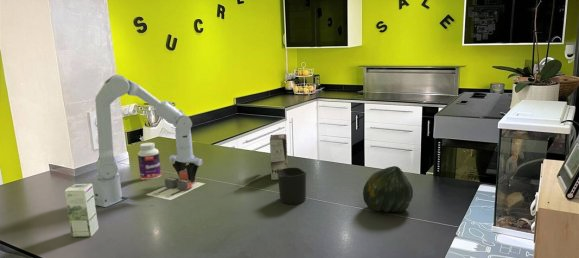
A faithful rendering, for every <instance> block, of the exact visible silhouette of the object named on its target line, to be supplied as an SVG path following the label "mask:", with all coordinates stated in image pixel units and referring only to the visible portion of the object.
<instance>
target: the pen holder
mask: <svg viewBox="0 0 579 258" xmlns="http://www.w3.org/2000/svg"><path fill="white" fill-rule="evenodd" d="M277 180H278V189H279V190H278V191H279V198H280V199H279V200H280V201H281V202H282V203H283V204H286V205H298V204H302V203H304V202H305V201H306V197H307V172H305V171H304V170H302V169H301V168H299V167H288V168H284V169H281V170H279V171H278V179H277Z"/></svg>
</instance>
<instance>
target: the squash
mask: <svg viewBox="0 0 579 258" xmlns="http://www.w3.org/2000/svg"><path fill="white" fill-rule="evenodd" d="M413 192H414V189H413V185H412V183H411V182H410V181H409V179H408V177H407V176H406V174H405V173H404V172H403V170H402V169H401V168H400V167H399V166H398V165H397V166H396V165H395V166H389V167H385V168H383V169H380V170H378V171H376V172H374V173H372V174H371V175H370V177H368V179H367V181H366V182H365V184H364V186H363V192H362V196H363V201H364V204H365V205H366V206H367V207H368V208H370V209H372V210H374V211H375V212H382V211H383V212H386V213H388V212H391V213H394V212H397V213H401V212H405V211H406V210H407V209H408V208H409V206H410V203H411V202H412V199H413V194H414V193H413Z"/></svg>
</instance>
